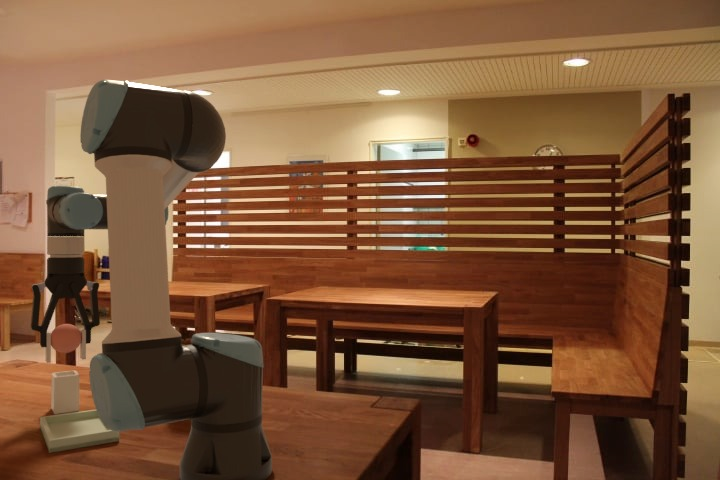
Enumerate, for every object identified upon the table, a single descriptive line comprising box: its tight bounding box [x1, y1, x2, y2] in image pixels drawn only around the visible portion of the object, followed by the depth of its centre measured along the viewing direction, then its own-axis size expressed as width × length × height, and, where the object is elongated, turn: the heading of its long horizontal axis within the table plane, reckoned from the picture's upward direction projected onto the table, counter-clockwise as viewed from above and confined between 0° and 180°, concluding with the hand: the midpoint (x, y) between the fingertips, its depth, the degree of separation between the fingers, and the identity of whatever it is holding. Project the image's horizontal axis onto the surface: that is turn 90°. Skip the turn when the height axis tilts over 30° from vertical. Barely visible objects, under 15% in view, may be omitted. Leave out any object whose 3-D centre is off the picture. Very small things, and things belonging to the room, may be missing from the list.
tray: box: [39, 408, 120, 453], centre depth 120 cm, size 16×12×2 cm
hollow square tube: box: [50, 370, 80, 415], centre depth 136 cm, size 5×5×8 cm
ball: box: [51, 323, 82, 354], centre depth 136 cm, size 6×6×6 cm
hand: (65, 359), depth 136 cm, fingers closed on ball, 6 cm apart
